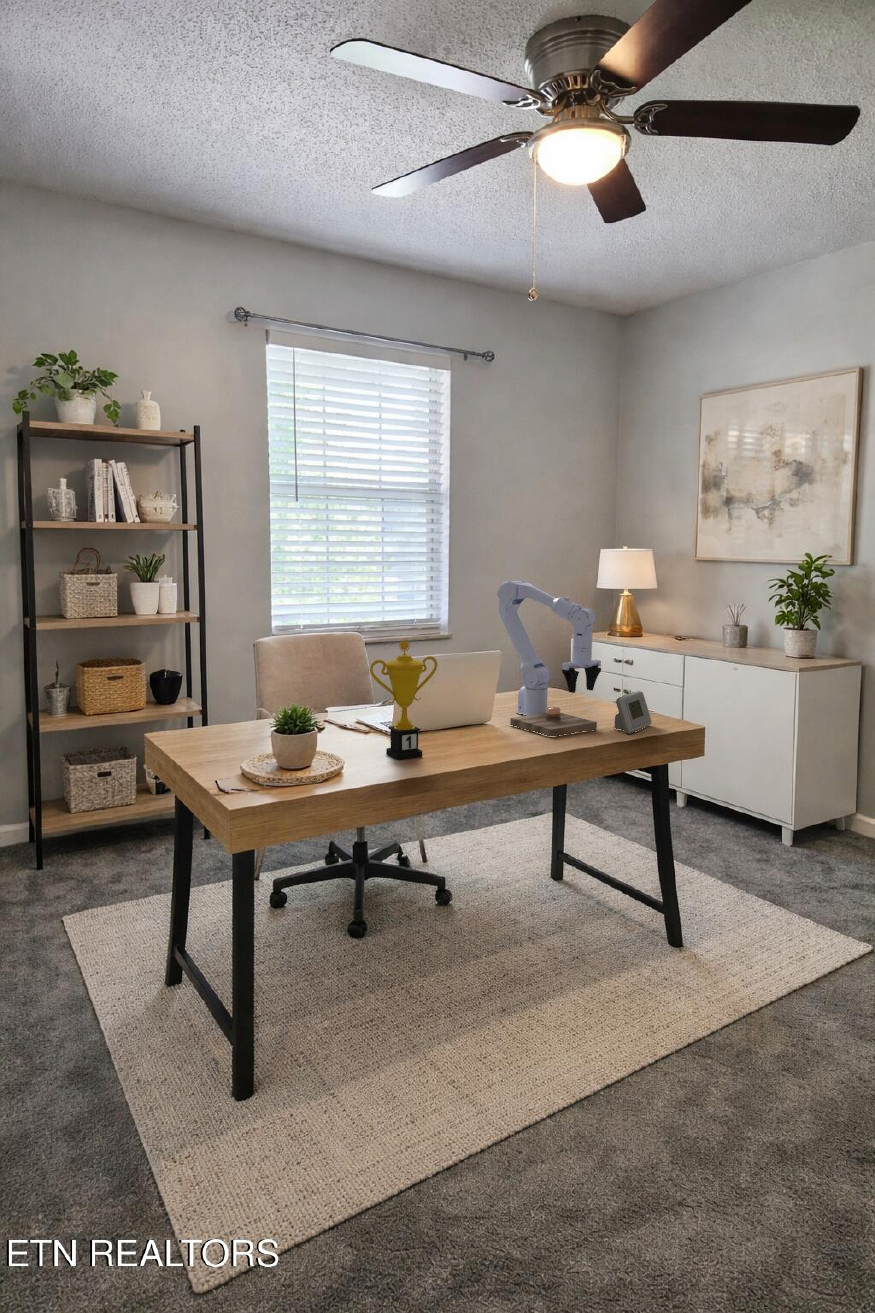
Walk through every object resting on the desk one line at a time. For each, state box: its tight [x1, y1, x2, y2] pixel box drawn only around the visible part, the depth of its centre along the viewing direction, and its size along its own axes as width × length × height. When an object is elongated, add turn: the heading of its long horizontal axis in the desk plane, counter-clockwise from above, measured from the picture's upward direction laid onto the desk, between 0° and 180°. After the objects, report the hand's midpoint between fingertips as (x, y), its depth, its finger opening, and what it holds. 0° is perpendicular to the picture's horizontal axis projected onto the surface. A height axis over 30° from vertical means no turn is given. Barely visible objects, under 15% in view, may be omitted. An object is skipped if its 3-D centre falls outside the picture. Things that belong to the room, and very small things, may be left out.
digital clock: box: [613, 690, 652, 734], centre depth 239 cm, size 16×9×11 cm, turn 132°
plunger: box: [546, 706, 561, 718], centre depth 239 cm, size 4×4×6 cm
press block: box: [509, 712, 598, 736], centre depth 239 cm, size 18×18×4 cm
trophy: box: [369, 639, 438, 761], centre depth 205 cm, size 19×10×30 cm, turn 120°
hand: (581, 691), depth 249 cm, fingers open, 7 cm apart
